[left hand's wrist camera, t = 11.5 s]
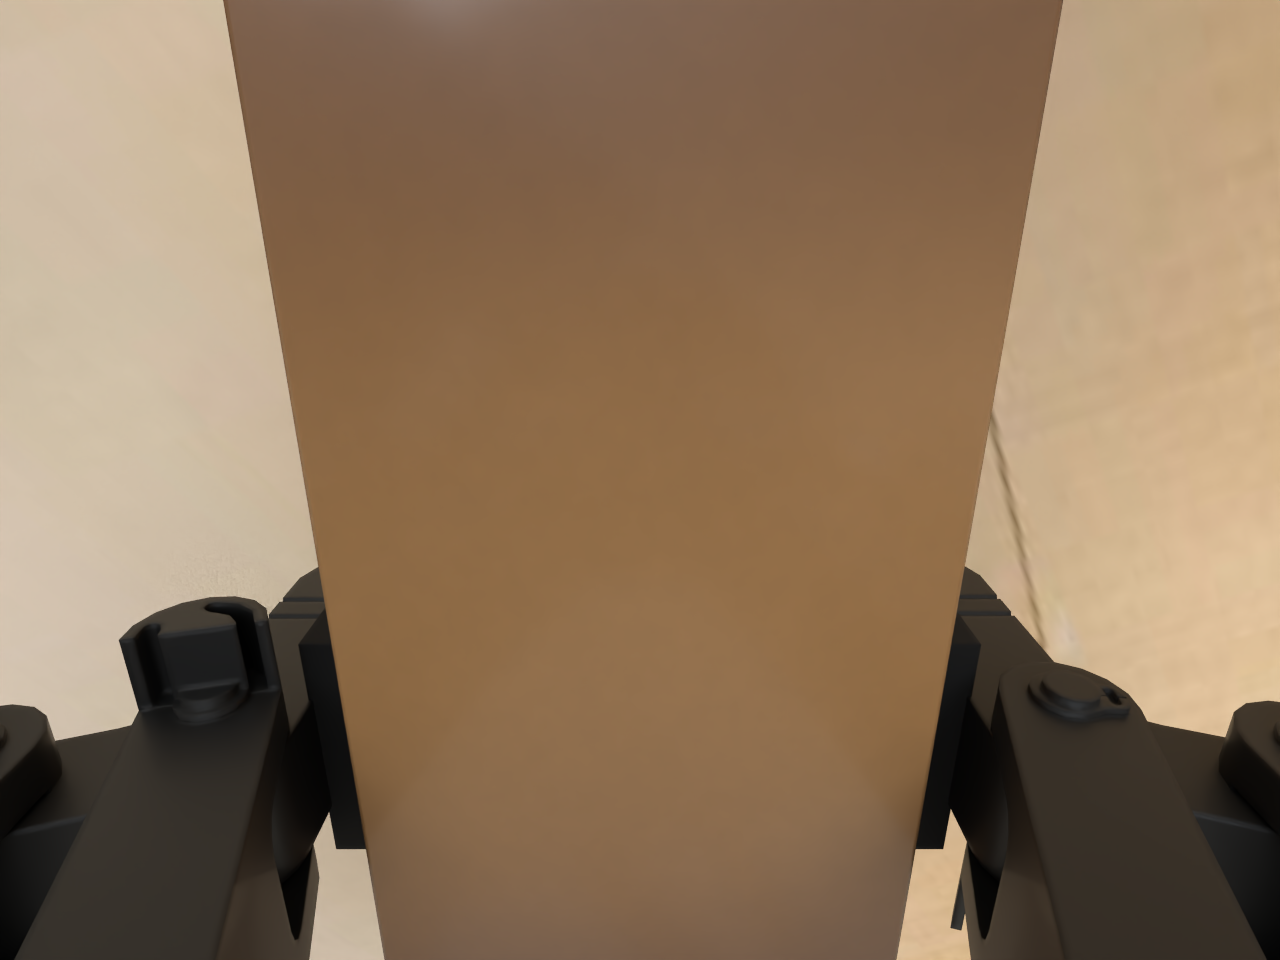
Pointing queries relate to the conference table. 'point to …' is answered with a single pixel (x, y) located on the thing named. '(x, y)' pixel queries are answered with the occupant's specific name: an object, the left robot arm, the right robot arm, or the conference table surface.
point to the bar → (641, 441)
